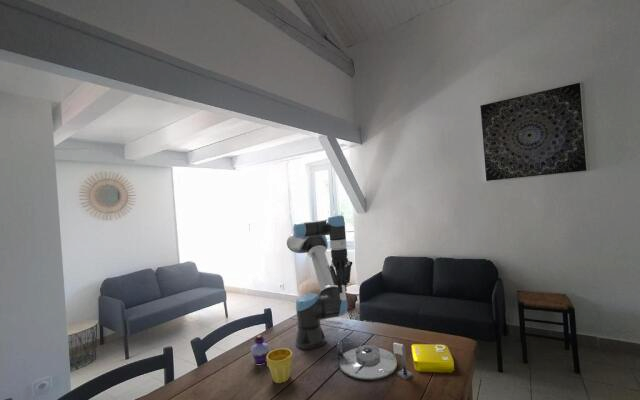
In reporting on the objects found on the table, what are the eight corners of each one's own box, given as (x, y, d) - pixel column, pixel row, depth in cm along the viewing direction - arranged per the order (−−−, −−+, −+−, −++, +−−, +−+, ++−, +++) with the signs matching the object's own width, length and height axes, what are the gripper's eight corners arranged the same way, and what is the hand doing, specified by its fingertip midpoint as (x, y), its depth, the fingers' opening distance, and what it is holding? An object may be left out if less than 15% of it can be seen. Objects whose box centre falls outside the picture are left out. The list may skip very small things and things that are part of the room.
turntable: (323, 369, 122) (322, 354, 123) (350, 344, 142) (349, 331, 143) (384, 386, 108) (382, 369, 108) (404, 355, 127) (403, 341, 128)
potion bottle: (261, 355, 139) (259, 330, 140) (274, 360, 134) (272, 333, 135) (247, 364, 132) (245, 337, 133) (260, 369, 127) (258, 341, 128)
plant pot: (289, 386, 113) (287, 361, 113) (264, 385, 115) (262, 360, 115) (297, 371, 123) (295, 348, 123) (273, 371, 125) (271, 347, 125)
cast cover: (352, 363, 123) (351, 352, 123) (362, 352, 131) (361, 342, 131) (374, 368, 117) (374, 357, 118) (383, 356, 126) (382, 346, 126)
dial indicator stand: (395, 373, 116) (392, 343, 116) (402, 370, 118) (399, 340, 118) (405, 379, 111) (402, 348, 111) (412, 375, 113) (409, 344, 114)
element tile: (411, 353, 131) (410, 342, 131) (447, 354, 128) (446, 343, 128) (415, 372, 116) (414, 360, 116) (455, 373, 113) (454, 361, 113)
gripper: (331, 251, 130) (336, 304, 130) (354, 247, 137) (359, 298, 136) (322, 250, 137) (327, 301, 136) (345, 246, 144) (349, 294, 143)
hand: (343, 299), depth 136 cm, fingers closed
